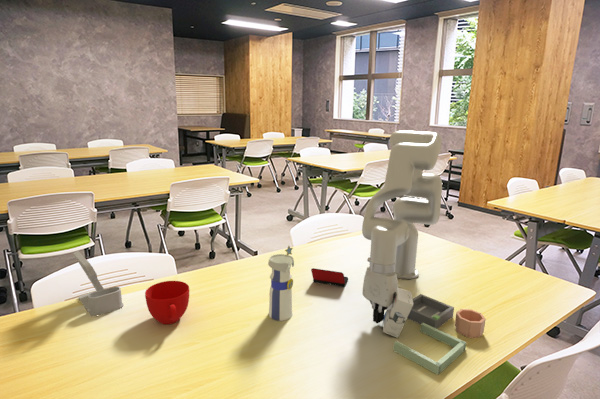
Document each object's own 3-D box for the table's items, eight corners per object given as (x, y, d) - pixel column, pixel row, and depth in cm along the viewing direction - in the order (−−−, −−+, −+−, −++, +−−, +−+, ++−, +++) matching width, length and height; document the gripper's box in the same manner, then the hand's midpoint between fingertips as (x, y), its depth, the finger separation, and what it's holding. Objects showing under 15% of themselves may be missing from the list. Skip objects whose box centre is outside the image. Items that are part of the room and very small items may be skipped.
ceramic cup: (152, 341, 110) (149, 310, 107) (145, 313, 124) (142, 285, 122) (197, 330, 115) (196, 300, 113) (186, 304, 130) (184, 277, 128)
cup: (450, 330, 118) (452, 314, 117) (462, 321, 123) (464, 306, 122) (475, 341, 112) (477, 325, 111) (486, 331, 117) (488, 316, 116)
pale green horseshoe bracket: (393, 350, 108) (394, 342, 107) (422, 329, 118) (423, 322, 117) (437, 374, 98) (438, 366, 98) (465, 350, 108) (466, 342, 108)
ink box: (382, 317, 122) (395, 285, 119) (398, 323, 121) (411, 291, 118) (382, 332, 114) (396, 299, 110) (399, 338, 113) (413, 305, 110)
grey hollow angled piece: (125, 307, 128) (120, 257, 123) (91, 318, 121) (85, 265, 117) (108, 289, 140) (103, 242, 136) (77, 298, 133) (70, 249, 129)
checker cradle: (400, 315, 126) (401, 303, 125) (419, 303, 134) (420, 292, 133) (435, 331, 117) (436, 319, 116) (453, 317, 125) (455, 306, 124)
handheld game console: (348, 279, 152) (349, 262, 150) (342, 291, 142) (343, 273, 140) (318, 274, 155) (318, 257, 154) (310, 286, 146) (310, 267, 144)
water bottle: (298, 310, 127) (299, 239, 122) (286, 323, 120) (287, 248, 114) (276, 305, 131) (276, 235, 125) (263, 317, 123) (263, 243, 117)
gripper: (354, 261, 119) (351, 315, 123) (396, 277, 108) (391, 336, 112) (370, 255, 123) (366, 307, 128) (410, 270, 113) (405, 326, 117)
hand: (378, 320), depth 120 cm, fingers closed
